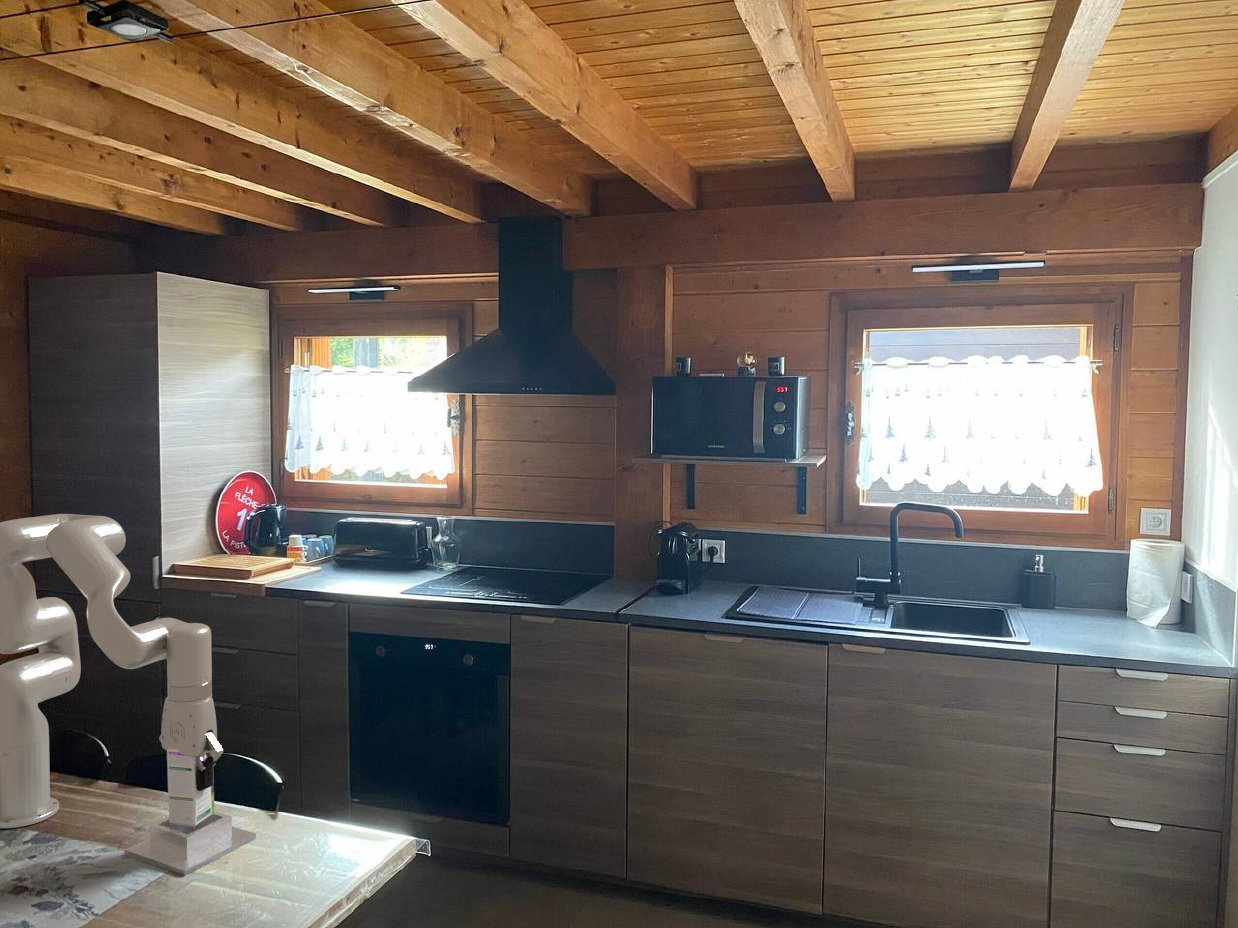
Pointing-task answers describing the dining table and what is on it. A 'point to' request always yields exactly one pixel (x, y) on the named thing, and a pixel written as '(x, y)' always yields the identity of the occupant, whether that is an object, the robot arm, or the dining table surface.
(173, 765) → the syrup box
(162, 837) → the sleeve holder
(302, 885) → the dining table surface
